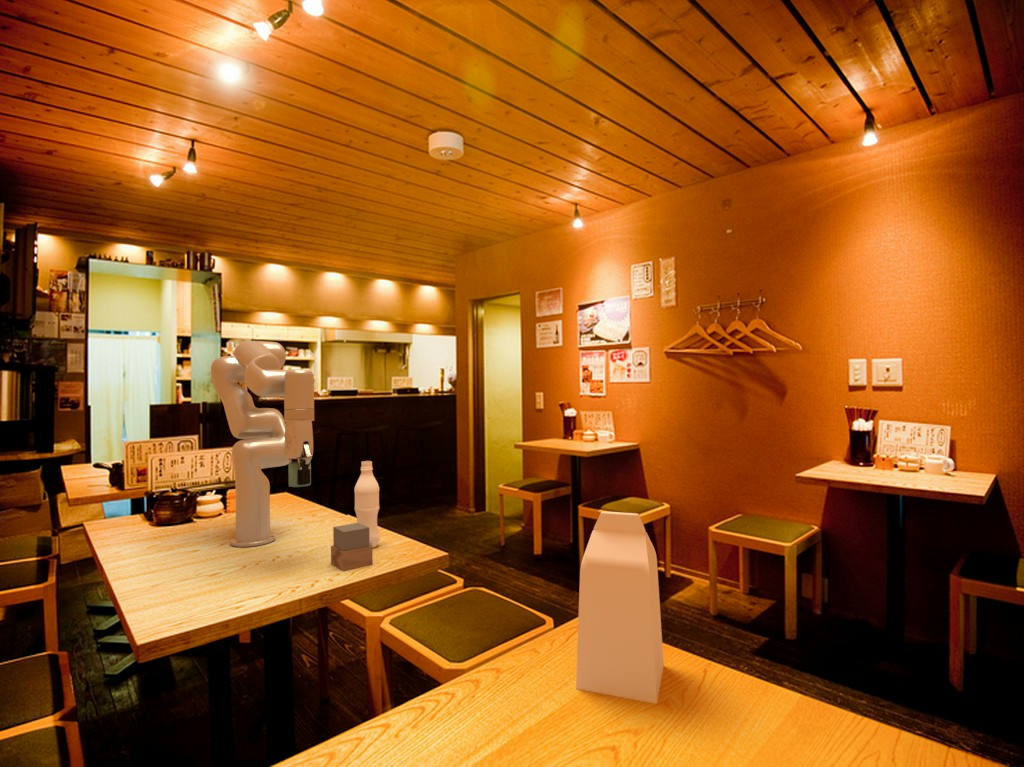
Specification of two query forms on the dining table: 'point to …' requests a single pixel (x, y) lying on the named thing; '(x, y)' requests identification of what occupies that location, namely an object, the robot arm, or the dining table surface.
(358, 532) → the tower mid
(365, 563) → the tower base
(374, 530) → the water bottle
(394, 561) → the dining table surface
